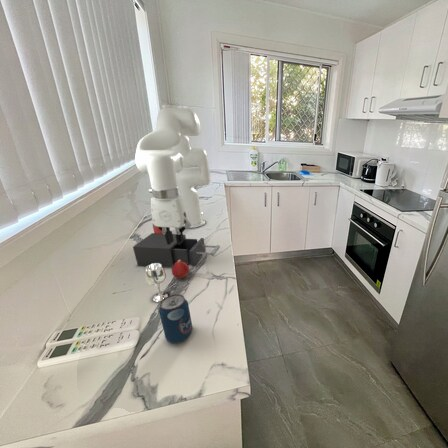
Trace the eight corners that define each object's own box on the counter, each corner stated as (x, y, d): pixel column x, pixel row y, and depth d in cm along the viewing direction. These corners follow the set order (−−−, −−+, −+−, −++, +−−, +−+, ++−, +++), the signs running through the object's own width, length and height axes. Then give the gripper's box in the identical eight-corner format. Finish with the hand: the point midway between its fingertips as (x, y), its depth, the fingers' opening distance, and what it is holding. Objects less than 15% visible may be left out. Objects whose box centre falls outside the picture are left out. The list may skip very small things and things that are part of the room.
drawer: (222, 252, 109) (221, 238, 106) (213, 266, 98) (211, 251, 96) (175, 250, 109) (173, 236, 107) (161, 264, 99) (158, 249, 96)
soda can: (190, 343, 66) (183, 309, 61) (162, 347, 64) (153, 312, 60) (195, 324, 72) (189, 291, 67) (169, 327, 70) (162, 294, 66)
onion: (173, 284, 89) (169, 265, 85) (173, 275, 93) (169, 258, 90) (191, 280, 91) (187, 262, 88) (189, 272, 96) (186, 254, 93)
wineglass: (157, 305, 78) (149, 274, 74) (147, 298, 81) (139, 268, 77) (173, 295, 83) (167, 265, 78) (163, 289, 86) (157, 260, 81)
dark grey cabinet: (188, 252, 110) (185, 234, 107) (173, 267, 98) (169, 248, 95) (156, 250, 110) (152, 233, 107) (137, 265, 99) (132, 246, 95)
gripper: (133, 195, 76) (146, 247, 83) (185, 197, 75) (193, 249, 83) (148, 189, 83) (158, 237, 90) (195, 191, 82) (202, 239, 90)
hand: (175, 242), depth 86 cm, fingers closed
